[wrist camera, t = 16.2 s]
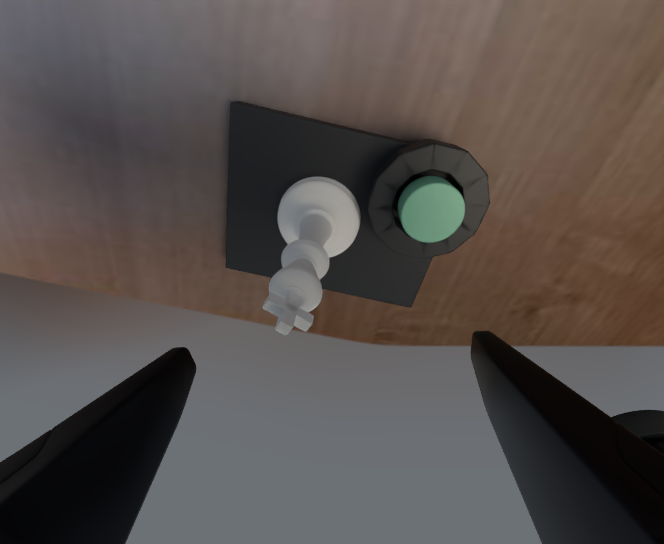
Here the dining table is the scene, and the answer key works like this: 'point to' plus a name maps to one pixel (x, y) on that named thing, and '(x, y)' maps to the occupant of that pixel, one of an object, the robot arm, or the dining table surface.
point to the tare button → (430, 209)
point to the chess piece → (309, 247)
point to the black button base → (360, 179)
